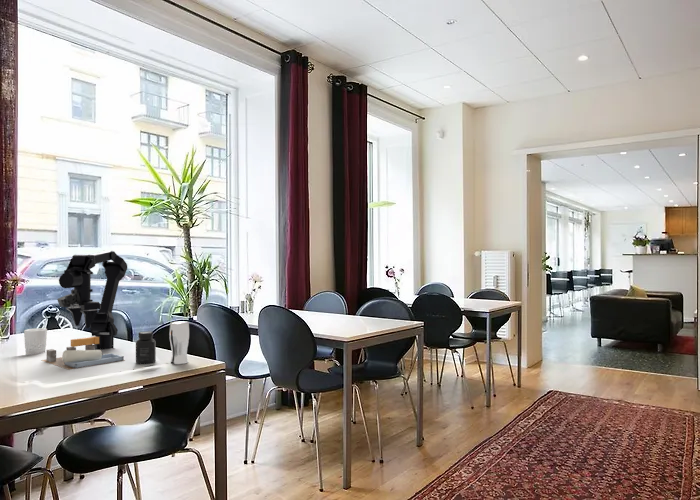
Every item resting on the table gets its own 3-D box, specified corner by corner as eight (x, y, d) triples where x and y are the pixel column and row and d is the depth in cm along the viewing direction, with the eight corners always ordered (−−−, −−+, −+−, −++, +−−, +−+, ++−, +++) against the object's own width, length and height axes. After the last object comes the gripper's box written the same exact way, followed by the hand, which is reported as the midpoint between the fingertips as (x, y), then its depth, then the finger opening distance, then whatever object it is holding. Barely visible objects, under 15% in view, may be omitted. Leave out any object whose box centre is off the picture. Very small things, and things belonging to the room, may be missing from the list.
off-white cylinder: (66, 362, 182) (68, 351, 183) (61, 361, 185) (63, 349, 185) (101, 361, 192) (102, 350, 192) (95, 360, 194) (97, 349, 195)
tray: (111, 357, 201) (111, 353, 201) (123, 360, 196) (123, 356, 196) (64, 364, 188) (64, 360, 188) (75, 368, 182) (75, 363, 182)
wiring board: (95, 354, 211) (95, 342, 211) (125, 363, 196) (125, 349, 196) (40, 362, 195) (40, 349, 195) (68, 372, 180) (68, 357, 180)
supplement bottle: (159, 363, 194) (159, 331, 194) (146, 367, 188) (147, 334, 188) (144, 362, 196) (144, 330, 197) (131, 366, 190) (131, 333, 190)
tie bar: (95, 342, 208) (95, 336, 208) (99, 343, 206) (99, 337, 206) (69, 346, 201) (69, 339, 201) (73, 347, 199) (73, 340, 199)
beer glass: (172, 361, 199) (172, 321, 199) (190, 360, 200) (191, 321, 200) (167, 365, 192) (167, 323, 192) (186, 364, 193) (186, 323, 193)
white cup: (36, 356, 207) (36, 331, 207) (19, 356, 208) (19, 330, 208) (51, 353, 214) (51, 328, 214) (34, 352, 216) (34, 327, 216)
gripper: (50, 286, 205) (50, 326, 205) (71, 288, 193) (70, 331, 193) (79, 285, 213) (79, 323, 213) (101, 287, 201) (101, 328, 201)
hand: (82, 326), depth 205 cm, fingers open, 9 cm apart
